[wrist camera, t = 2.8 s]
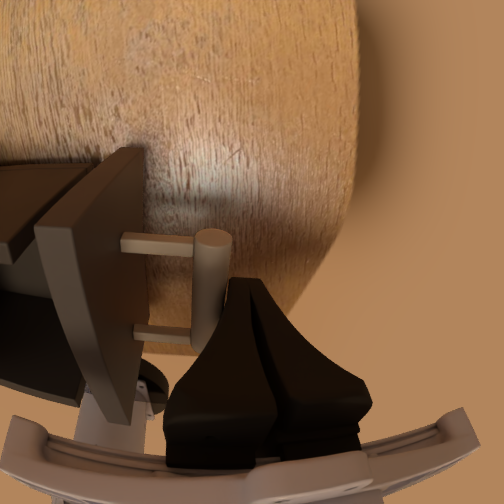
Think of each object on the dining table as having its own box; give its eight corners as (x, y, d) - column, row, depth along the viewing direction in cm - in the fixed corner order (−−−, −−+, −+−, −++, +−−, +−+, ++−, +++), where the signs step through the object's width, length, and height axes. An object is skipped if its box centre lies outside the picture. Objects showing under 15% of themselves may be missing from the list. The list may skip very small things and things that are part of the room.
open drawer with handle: (235, 153, 13) (252, 241, 7) (215, 319, 19) (219, 433, 12) (-45, 158, 10) (-128, 219, 4) (-10, 291, 16) (-55, 368, 9)
